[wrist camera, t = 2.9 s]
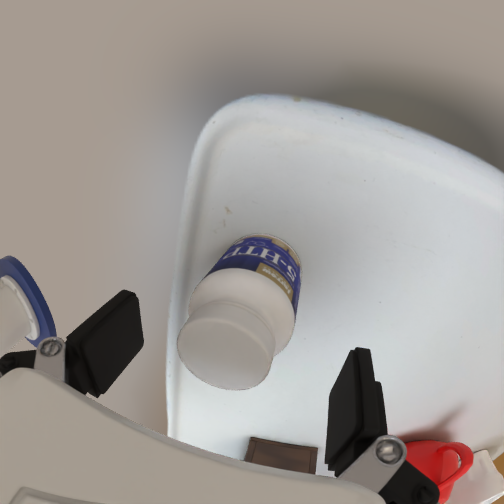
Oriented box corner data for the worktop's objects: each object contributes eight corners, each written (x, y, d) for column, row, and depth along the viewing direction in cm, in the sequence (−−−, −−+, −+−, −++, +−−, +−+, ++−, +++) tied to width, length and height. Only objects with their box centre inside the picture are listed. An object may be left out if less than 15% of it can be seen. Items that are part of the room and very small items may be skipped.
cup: (505, 443, 21) (517, 486, 11) (457, 477, 26) (462, 518, 16) (479, 441, 21) (492, 495, 11) (423, 478, 26) (427, 527, 16)
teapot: (409, 405, 20) (424, 510, 9) (492, 409, 19) (515, 481, 8) (311, 486, 30) (301, 547, 19) (389, 489, 29) (388, 543, 18)
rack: (235, 486, 35) (230, 503, 31) (251, 436, 26) (243, 463, 23) (279, 494, 34) (275, 512, 30) (318, 447, 25) (315, 475, 22)
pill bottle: (311, 244, 17) (306, 329, 9) (290, 311, 19) (270, 412, 11) (231, 222, 18) (163, 286, 10) (219, 291, 20) (163, 376, 12)
